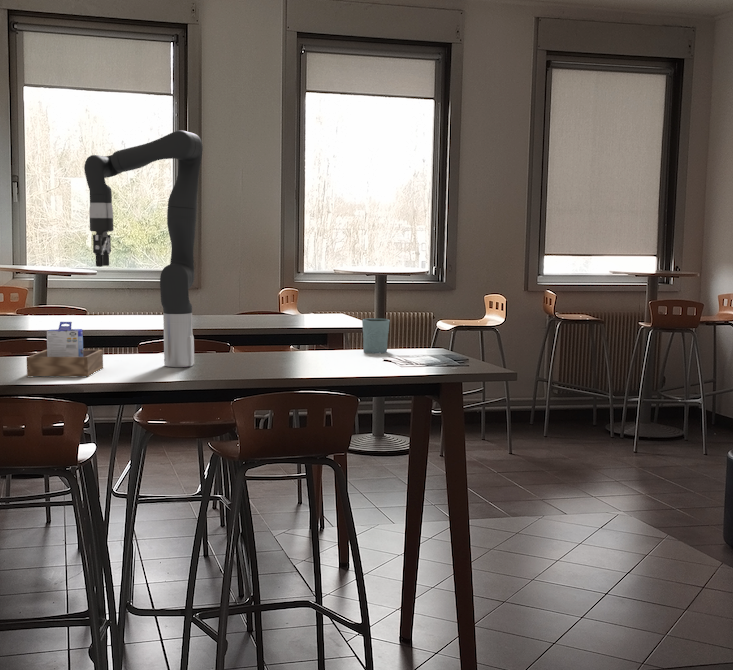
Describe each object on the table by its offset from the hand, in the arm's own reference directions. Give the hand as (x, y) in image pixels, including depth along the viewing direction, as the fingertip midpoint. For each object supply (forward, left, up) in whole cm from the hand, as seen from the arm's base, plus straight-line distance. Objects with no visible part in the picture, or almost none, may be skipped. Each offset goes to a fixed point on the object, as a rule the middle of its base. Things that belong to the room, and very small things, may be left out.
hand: (102, 266), depth 303 cm
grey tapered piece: (-92, -25, -32) cm, 101 cm away
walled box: (+6, +25, -32) cm, 41 cm away
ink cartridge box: (+6, +25, -31) cm, 40 cm away
